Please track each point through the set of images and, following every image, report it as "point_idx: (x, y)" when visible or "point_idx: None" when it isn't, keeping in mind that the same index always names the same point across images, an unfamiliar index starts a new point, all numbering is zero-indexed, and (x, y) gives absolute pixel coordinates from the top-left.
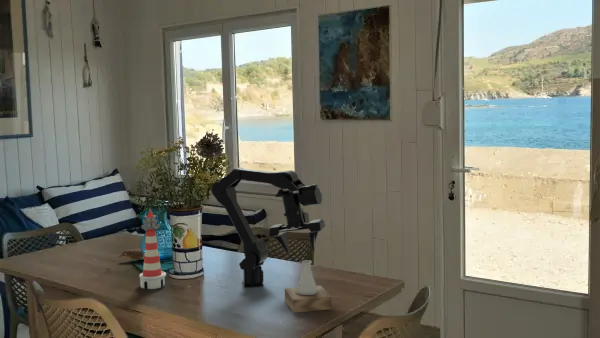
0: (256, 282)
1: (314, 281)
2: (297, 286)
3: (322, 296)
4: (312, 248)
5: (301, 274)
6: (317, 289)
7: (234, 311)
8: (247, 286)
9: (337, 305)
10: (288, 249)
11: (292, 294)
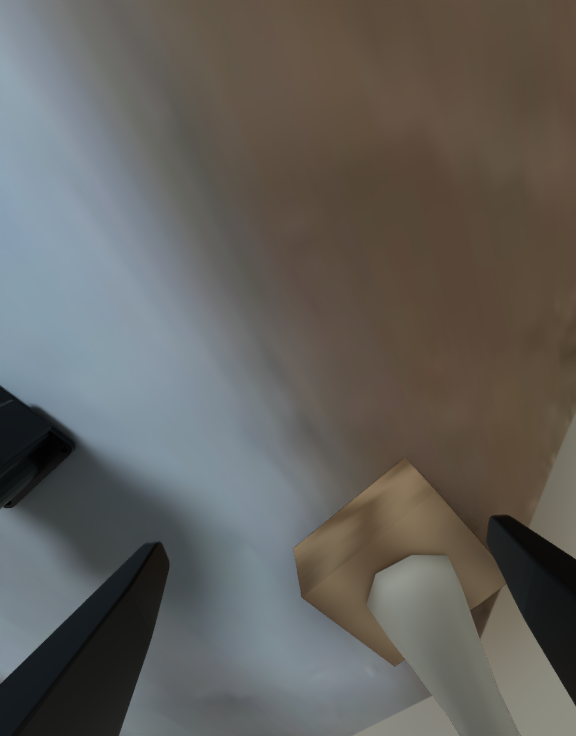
0: (36, 472)
1: (471, 619)
2: (382, 626)
3: (482, 594)
4: (516, 591)
5: (438, 701)
6: (450, 563)
7: (198, 690)
8: (21, 498)
9: (484, 498)
10: (145, 610)
11: (367, 631)
